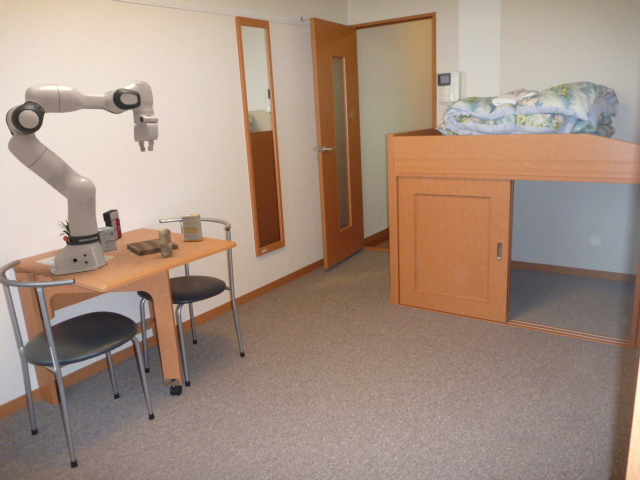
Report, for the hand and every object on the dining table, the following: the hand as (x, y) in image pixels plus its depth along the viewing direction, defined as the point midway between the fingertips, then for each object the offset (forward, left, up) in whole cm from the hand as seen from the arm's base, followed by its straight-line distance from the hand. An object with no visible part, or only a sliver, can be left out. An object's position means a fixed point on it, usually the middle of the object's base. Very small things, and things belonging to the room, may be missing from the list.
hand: (146, 151), depth 240 cm
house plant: (-31, +35, -47) cm, 66 cm away
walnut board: (0, +10, -46) cm, 47 cm away
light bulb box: (-19, +24, -47) cm, 56 cm away
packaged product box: (-8, +45, -47) cm, 65 cm away
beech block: (0, -10, -46) cm, 47 cm away
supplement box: (+21, +10, -47) cm, 52 cm away
